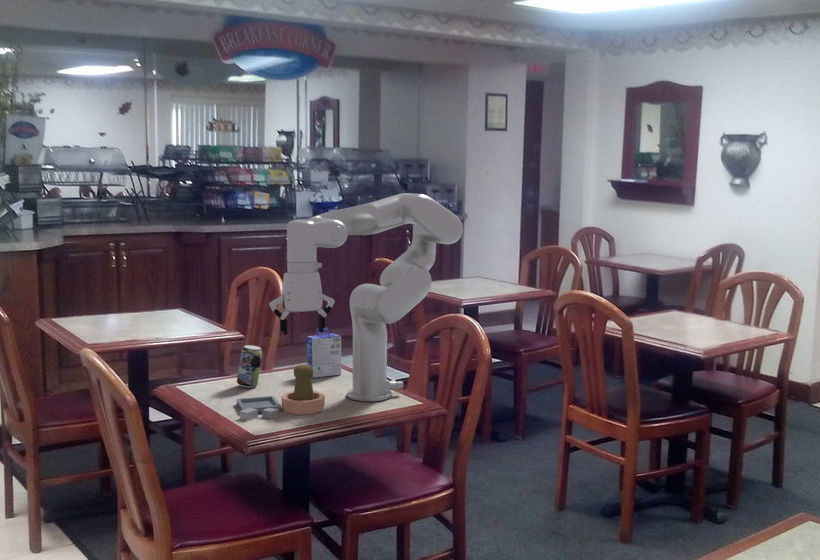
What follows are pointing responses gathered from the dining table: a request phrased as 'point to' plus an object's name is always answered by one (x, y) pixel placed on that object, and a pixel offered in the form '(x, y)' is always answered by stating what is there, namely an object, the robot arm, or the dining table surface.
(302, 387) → the olive pestle
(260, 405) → the tray
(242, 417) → the light grey block
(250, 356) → the beverage can
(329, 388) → the dining table surface
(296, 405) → the bowl
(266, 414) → the grey block
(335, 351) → the ink cartridge box
